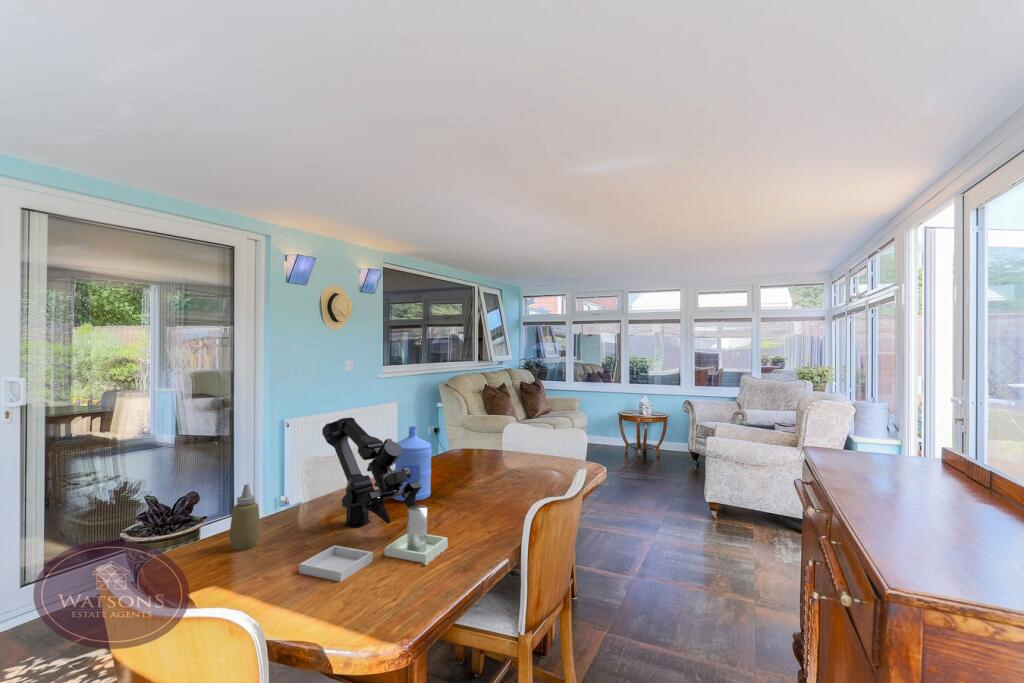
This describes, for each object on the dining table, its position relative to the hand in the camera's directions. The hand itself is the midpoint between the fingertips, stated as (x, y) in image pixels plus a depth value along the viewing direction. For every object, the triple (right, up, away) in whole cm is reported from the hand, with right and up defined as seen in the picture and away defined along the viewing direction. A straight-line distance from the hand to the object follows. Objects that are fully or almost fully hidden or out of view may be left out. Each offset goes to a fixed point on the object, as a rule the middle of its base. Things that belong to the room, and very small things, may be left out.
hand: (402, 519), depth 141 cm
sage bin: (+5, -8, -5) cm, 11 cm away
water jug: (-8, -10, +49) cm, 51 cm away
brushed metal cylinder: (+5, -7, -5) cm, 10 cm away
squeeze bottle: (-46, -7, -3) cm, 46 cm away
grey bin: (-13, -7, -17) cm, 23 cm away
